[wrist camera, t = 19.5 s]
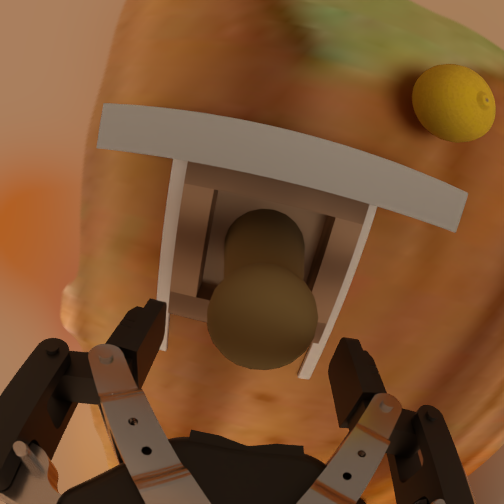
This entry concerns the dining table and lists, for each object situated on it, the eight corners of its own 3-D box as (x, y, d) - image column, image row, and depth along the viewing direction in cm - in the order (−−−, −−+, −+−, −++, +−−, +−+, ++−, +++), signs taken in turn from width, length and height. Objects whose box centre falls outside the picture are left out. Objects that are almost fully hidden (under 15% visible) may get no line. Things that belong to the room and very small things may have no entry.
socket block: (313, 322, 26) (318, 343, 23) (177, 294, 25) (167, 312, 22) (358, 188, 21) (371, 196, 18) (199, 150, 21) (189, 152, 18)
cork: (207, 243, 23) (163, 330, 12) (269, 191, 21) (271, 245, 11) (259, 297, 24) (254, 403, 14) (320, 252, 23) (358, 344, 12)
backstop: (328, 378, 28) (340, 440, 21) (135, 339, 28) (104, 395, 20) (410, 172, 21) (468, 193, 13) (156, 111, 20) (103, 103, 13)
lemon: (461, 106, 18) (524, 104, 11) (432, 153, 20) (494, 166, 12) (415, 60, 17) (472, 37, 10) (383, 107, 19) (436, 97, 12)
